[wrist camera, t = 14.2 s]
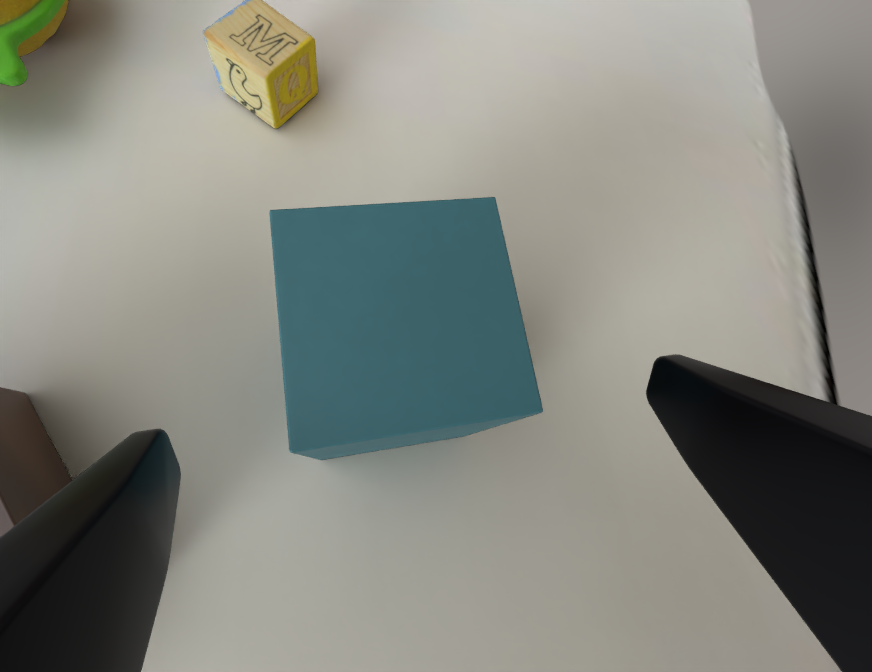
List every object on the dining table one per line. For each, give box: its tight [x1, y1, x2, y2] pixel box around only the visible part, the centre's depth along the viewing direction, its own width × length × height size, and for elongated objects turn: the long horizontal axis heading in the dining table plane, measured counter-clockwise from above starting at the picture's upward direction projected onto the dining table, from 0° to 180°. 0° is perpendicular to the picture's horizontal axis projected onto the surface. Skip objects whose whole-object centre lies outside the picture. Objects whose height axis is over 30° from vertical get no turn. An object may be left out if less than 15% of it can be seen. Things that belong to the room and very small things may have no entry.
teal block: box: [270, 197, 543, 460], centre depth 14 cm, size 6×6×8 cm
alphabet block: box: [203, 0, 318, 129], centre depth 19 cm, size 3×3×3 cm
